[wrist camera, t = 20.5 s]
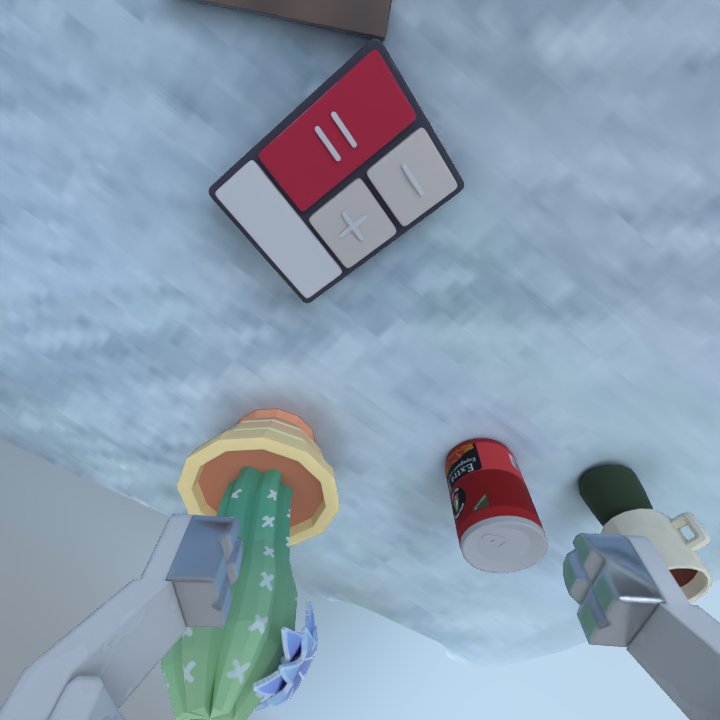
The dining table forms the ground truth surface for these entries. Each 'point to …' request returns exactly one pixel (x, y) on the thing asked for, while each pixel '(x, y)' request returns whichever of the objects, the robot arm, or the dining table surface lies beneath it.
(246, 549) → the potted cactus
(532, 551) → the canned food
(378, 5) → the board
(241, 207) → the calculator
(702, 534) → the trophy
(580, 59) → the dining table surface
